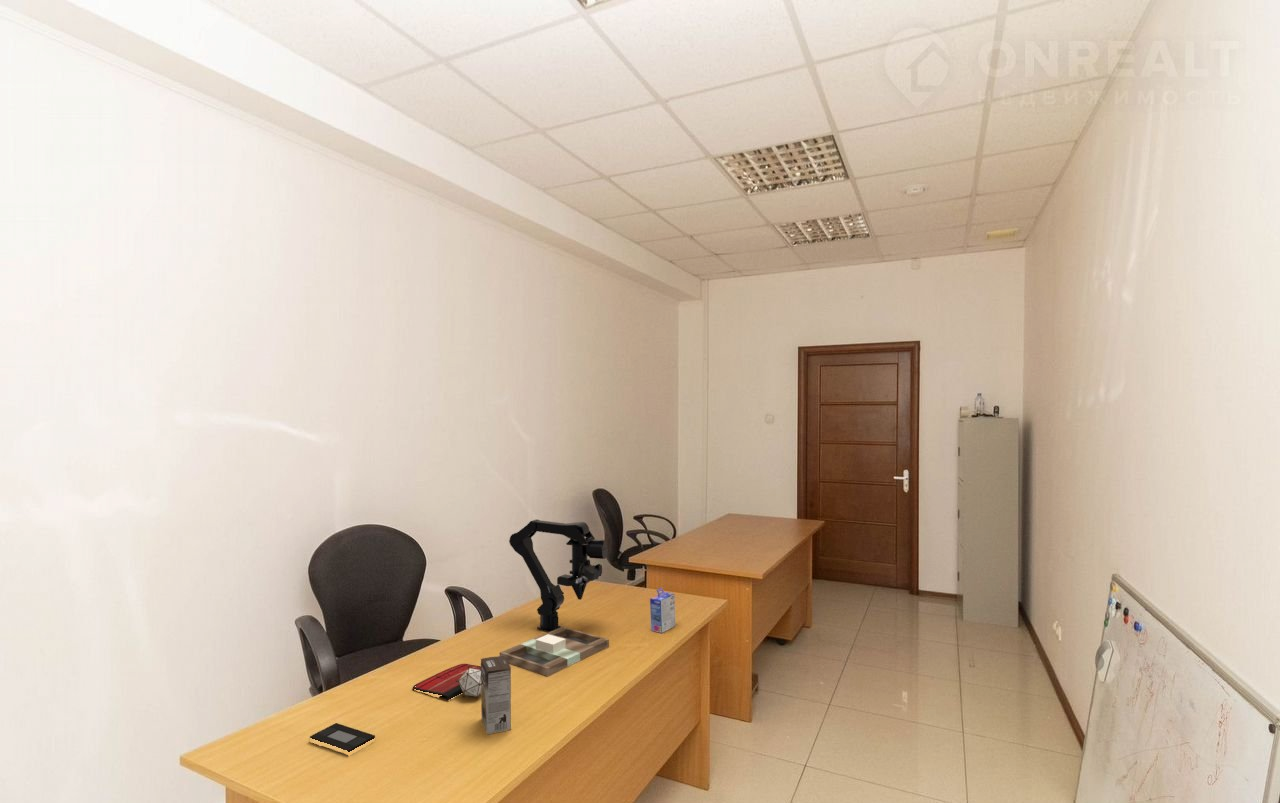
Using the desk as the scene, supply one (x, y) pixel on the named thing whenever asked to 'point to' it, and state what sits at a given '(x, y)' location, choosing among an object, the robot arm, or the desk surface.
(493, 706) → the coffee box
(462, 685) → the game die
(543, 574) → the robot arm
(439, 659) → the desk surface
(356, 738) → the black computer chip
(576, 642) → the trap deck
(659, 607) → the ink cartridge box
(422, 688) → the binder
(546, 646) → the cream block
